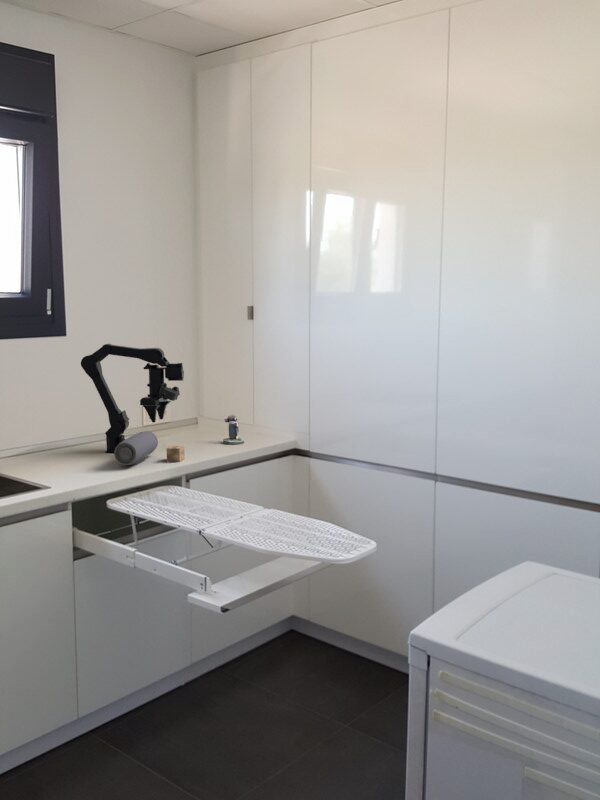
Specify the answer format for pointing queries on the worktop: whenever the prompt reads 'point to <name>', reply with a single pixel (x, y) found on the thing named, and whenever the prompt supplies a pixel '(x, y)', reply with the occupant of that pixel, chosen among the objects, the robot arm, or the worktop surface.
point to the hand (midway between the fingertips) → (157, 420)
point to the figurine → (233, 432)
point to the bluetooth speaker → (136, 448)
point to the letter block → (175, 454)
